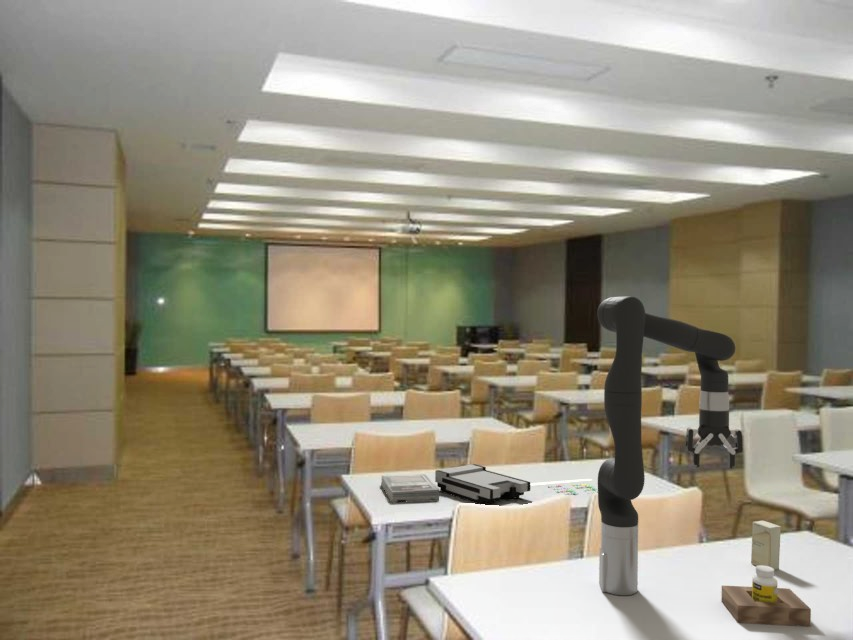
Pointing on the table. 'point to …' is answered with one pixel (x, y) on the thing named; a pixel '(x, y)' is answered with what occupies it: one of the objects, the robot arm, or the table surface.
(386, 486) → the hard drive
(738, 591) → the walnut socket board
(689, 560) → the table surface
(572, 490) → the printed paper
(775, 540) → the skincare box
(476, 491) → the game console
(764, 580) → the supplement bottle
